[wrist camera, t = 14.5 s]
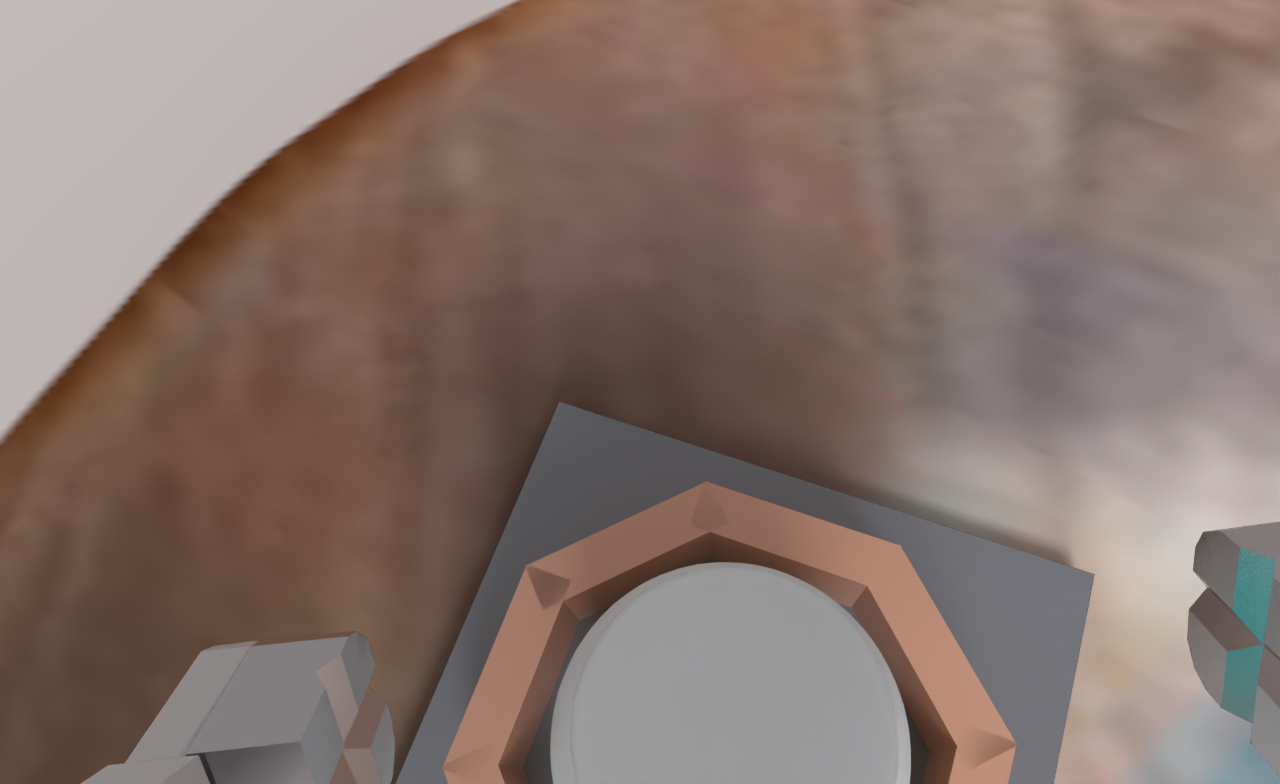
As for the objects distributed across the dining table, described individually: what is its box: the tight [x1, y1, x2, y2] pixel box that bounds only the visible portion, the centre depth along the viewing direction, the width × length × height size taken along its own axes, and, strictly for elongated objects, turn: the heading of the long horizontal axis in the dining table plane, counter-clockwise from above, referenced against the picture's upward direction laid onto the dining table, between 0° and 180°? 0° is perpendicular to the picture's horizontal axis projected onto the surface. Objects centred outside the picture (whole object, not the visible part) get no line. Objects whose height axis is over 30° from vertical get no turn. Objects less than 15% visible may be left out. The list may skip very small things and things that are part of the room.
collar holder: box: [396, 402, 1095, 784], centre depth 19 cm, size 13×13×4 cm
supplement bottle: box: [550, 562, 911, 784], centre depth 16 cm, size 5×5×10 cm
